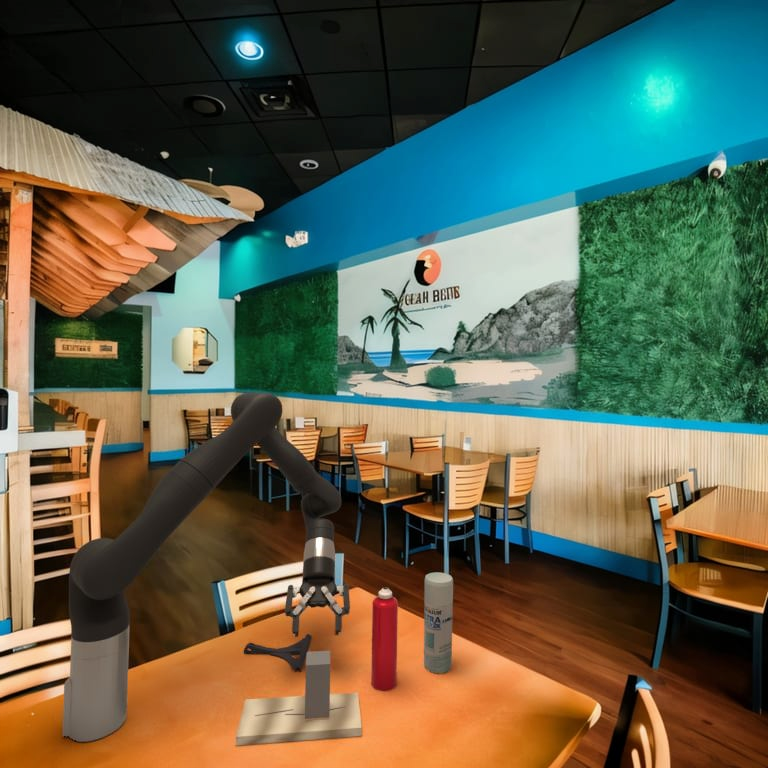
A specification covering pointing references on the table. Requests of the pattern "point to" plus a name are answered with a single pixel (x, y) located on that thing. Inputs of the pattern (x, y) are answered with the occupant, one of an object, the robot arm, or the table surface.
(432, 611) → the spray paint can
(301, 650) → the squeegee
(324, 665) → the block
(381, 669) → the bottle
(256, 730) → the board
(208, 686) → the table surface
